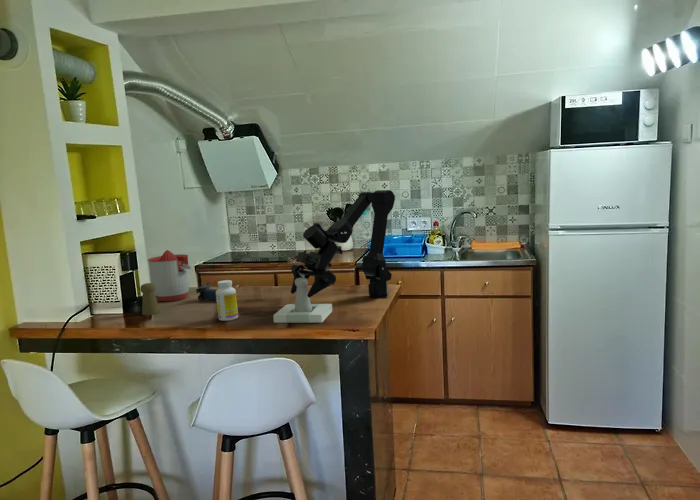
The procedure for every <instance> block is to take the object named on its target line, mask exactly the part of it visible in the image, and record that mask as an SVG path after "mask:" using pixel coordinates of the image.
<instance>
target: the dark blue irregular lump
mask: <svg viewBox="0 0 700 500" xmlns="http://www.w3.org/2000/svg"><path fill="white" fill-rule="evenodd" d="M218 289H219V288H216V289H215V288H211V283H210V282H207V283H206V284H203V285H201V286H200V285H198V286H197V288H196V289H195V291H196V294H198V295H197V300H198V302H199V303H203V302H205V301H215V302H217V301H216V291H217V290H218Z"/></svg>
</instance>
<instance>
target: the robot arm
mask: <svg viewBox="0 0 700 500" xmlns="http://www.w3.org/2000/svg"><path fill="white" fill-rule="evenodd" d="M395 201H396V195H395V194H394V192H393V190H390V189H386V190H385V189H383V190H382V189H381V190H380V189H379V190H375V191H374V192H373V191H362V192H360V193H359V194H358V196H357V198H356V199H355V201H354V202H353V203H352V205H351V206H350V207H349V208H348V210H347V211H346V212H345V213H344V215H343V216H342V217H341V218H340V219H339V220H337V221H335V222H333V223H332V225H330V226H329V227H328V228H327V229H326V230H325V229H324V228H323V226H321V224H320V223H318V222H315V223H313V224H312V225H310V226H309V227H308V228H307V229H305V230H304V232H303V234H302V235H303V239H304V240H306V241H307V242H308V243H309V244H310V245H311V246H312V247H313V248H314V249H318V250H317V252H315V251H310V252H309V253H307V252H304V251H298V252H297V254H296V255H297V256H296V259H295V262H298V263H301V264H298V263H295V264H294V263H293V264H292V265H291V267H290V271H291V274H293V275H292V276H293V279H292V280H293V281H292V284H291V288H290V293H291V294H292V295H294V294H295V293H296V291H297V286H296V285H295V280H296V279H297V278H307V279H308V280H309V278H310V277H313V278H314V281H313V283H312V285H311V287H310V289H309V291H308V295H307V296H308V297H309V299H310V298H311V297H313V296H315V295H316V294H319V292H321V291H322V290H325V289H326V288H329V287H331V285H332V286H334V285H335V283H336V282H337V276H336V275H335V274H334V273H333V272H332V271H331V270H330V269H329V268H331V267H332V261H333V259H334V257H335V256H336V255H343V250H342V246H341V245H338V244H339V243H340V244H346V243H348V241H349V240H350V238H351V236H352V234H353V229H354V226H355V224H356V223H357V222H358V220H359V219H360V218H361V217H362V216H363V214H364V212H365V211H366V210H367V209H368V207H369V206H370V205H371V208H372V210H373V212H374V213H373V214H374V215H373V223H372V230H371V231H372V232H371V238H370V239H371V240H370V244H369V245H370V247H369V252H368V253H367V255H363V257H362V263H361V269H362V272H363V274H364V276H365V280H369V283H368V295H369V298H370V299H371V298H388V296H389V295H390V292H389V285H388V282H389V281H391V280H392V277H393V275H392V273H391V272H390V271H389V269H387V264H386V263H387V262H386V258H385V255H384V247H385V240H386V232H387V225H388V216H389V214H390V212H392V210H393V208H394V206H395ZM336 243H337V244H336Z"/></svg>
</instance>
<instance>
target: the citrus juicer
mask: <svg viewBox="0 0 700 500" xmlns="http://www.w3.org/2000/svg"><path fill="white" fill-rule="evenodd" d="M147 262H148V268H149V269H148V271H149V278H150V283H153V284H154V285H155V287H156V289H155V296H156V300H157V301H159V302H176V301H178V300H182V299H185V298H187V297H188V295H189V292H190V283H191V278H190V271H191V270H192V267H191V266H190V265H189V255H188V254H174V253H173V252H171V251H170V250H168V249H166V250H165V251H164V252H163V254H162V255H159V256H153V257H150V258H148V259H147Z"/></svg>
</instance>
